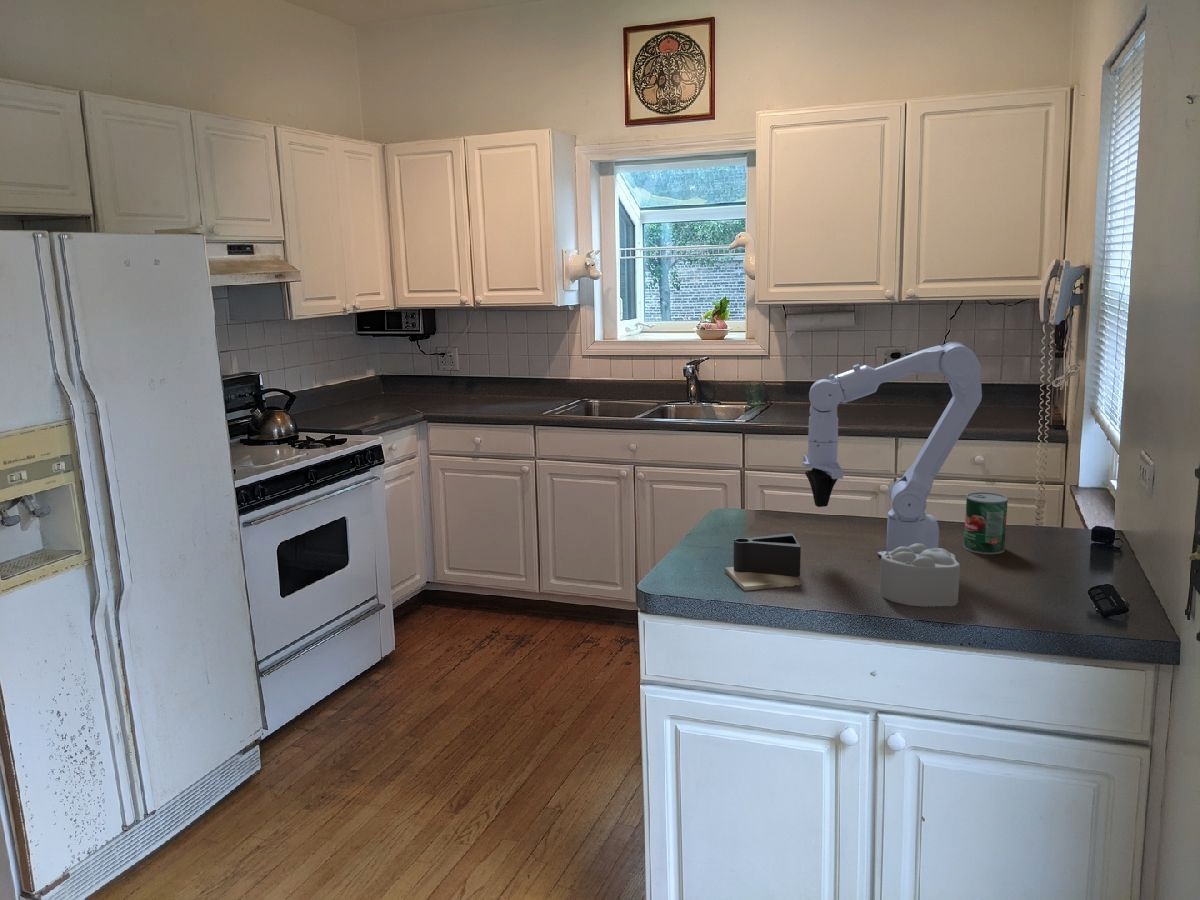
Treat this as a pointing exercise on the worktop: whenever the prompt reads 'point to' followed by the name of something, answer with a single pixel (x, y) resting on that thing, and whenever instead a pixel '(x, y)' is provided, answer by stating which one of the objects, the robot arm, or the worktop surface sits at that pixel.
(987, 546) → the canned tomato
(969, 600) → the worktop surface
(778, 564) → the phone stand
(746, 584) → the birch board
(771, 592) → the worktop surface
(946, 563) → the lumpy-topped squat cylinder
